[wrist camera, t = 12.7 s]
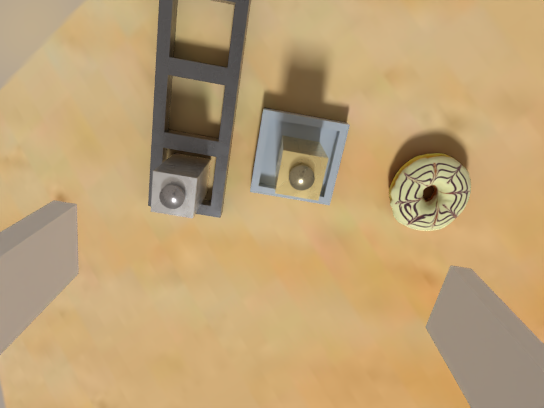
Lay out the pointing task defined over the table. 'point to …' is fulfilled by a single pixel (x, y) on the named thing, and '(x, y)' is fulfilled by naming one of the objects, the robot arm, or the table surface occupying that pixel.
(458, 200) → the decorated donut
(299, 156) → the gold block with knob
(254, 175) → the parts tray
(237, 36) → the rail
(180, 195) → the grey knobbed block
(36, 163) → the table surface
